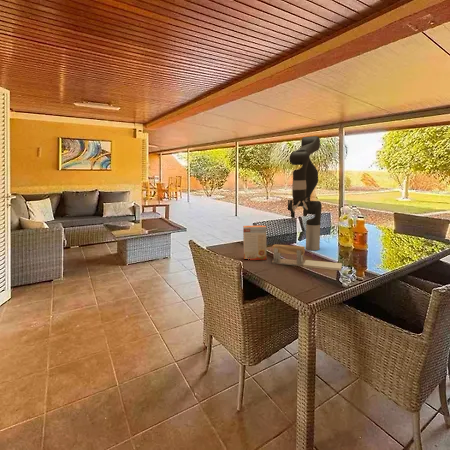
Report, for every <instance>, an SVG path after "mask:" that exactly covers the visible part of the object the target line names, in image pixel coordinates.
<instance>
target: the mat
mask: <svg viewBox="0 0 450 450" xmlns="http://www.w3.org/2000/svg"><path fill="white" fill-rule="evenodd" d="M304 261H305V263H304V264H303V266H302V267H303V268H311V269H322V270H331V271H342V267H343V263H341V262H331V261H321V260H311V259H306V260H304Z"/></svg>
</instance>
